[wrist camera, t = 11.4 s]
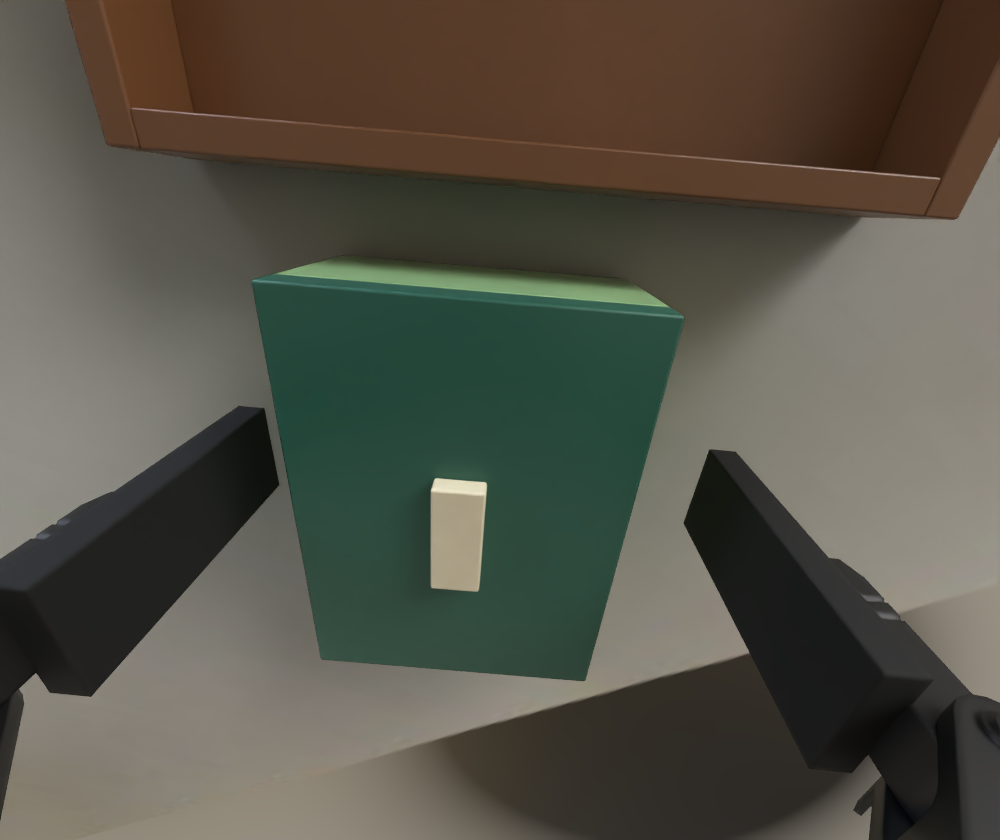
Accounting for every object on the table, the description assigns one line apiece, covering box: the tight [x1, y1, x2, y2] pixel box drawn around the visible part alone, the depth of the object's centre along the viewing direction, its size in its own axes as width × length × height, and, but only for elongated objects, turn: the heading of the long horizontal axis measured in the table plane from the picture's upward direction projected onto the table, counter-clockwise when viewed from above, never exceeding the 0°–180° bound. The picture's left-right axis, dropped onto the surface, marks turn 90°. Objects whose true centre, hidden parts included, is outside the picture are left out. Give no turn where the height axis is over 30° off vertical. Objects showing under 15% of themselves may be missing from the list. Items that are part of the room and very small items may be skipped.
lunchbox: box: [252, 255, 684, 681], centre depth 12 cm, size 5×11×8 cm
